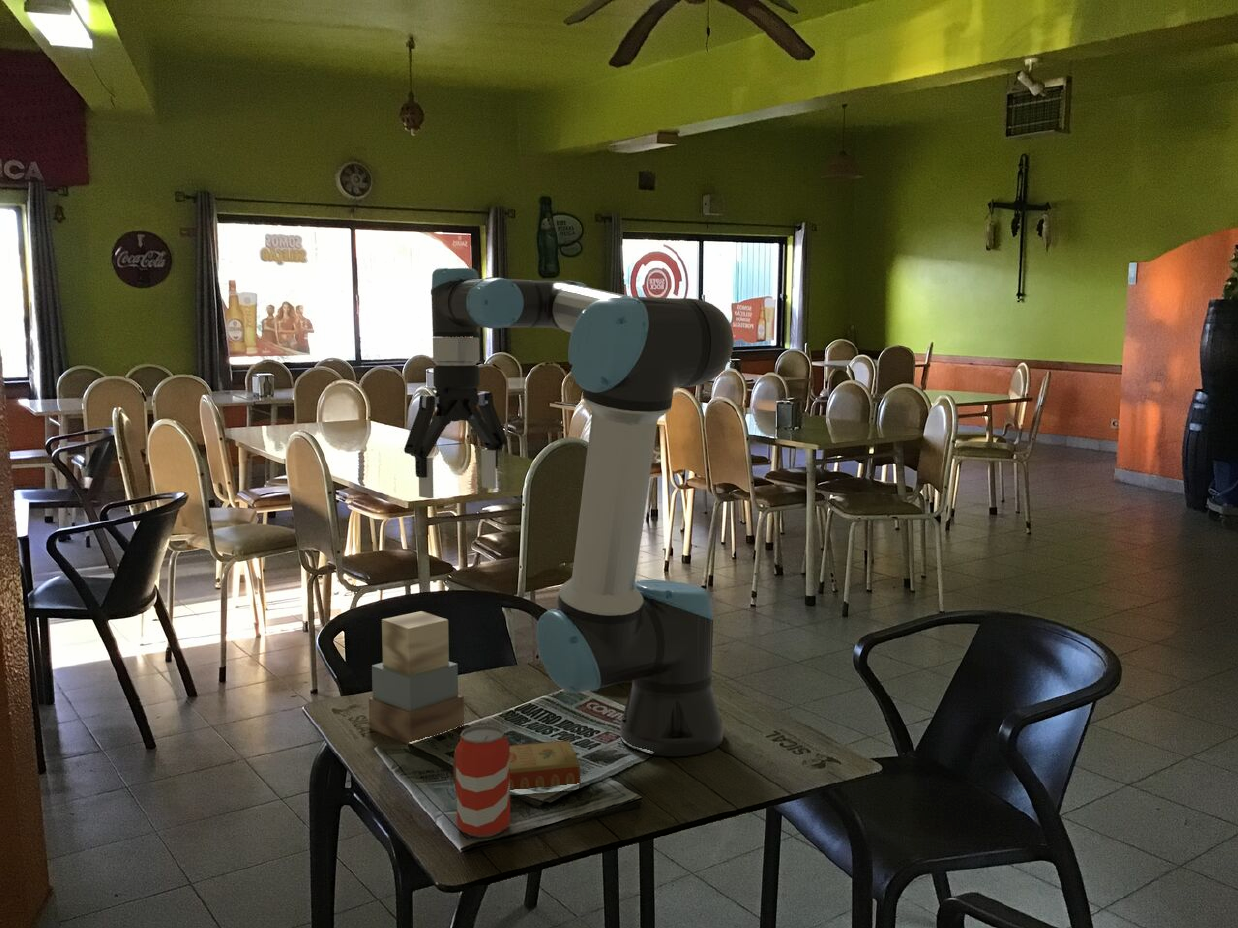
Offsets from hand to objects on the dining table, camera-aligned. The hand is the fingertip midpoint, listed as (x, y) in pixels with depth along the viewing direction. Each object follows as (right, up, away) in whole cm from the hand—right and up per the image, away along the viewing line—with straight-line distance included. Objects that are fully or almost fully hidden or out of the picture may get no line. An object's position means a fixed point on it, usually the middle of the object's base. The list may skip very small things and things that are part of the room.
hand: (458, 492), depth 181 cm
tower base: (-4, -35, -16) cm, 39 cm away
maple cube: (-4, -25, -17) cm, 31 cm away
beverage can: (+10, -39, -49) cm, 64 cm away
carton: (+13, -38, -36) cm, 54 cm away
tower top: (-4, -30, -17) cm, 35 cm away
